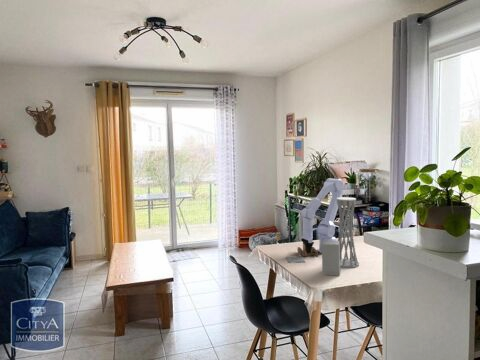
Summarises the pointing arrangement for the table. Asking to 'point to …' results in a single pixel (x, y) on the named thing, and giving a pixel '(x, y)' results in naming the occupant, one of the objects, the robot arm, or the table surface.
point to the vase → (353, 259)
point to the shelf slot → (312, 252)
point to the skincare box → (331, 258)
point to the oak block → (305, 251)
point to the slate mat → (295, 259)
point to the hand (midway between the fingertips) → (307, 252)
